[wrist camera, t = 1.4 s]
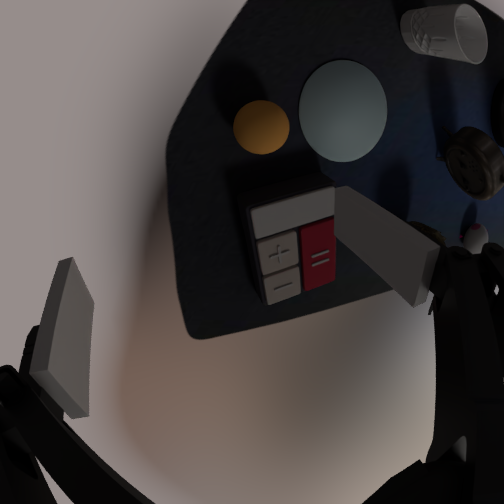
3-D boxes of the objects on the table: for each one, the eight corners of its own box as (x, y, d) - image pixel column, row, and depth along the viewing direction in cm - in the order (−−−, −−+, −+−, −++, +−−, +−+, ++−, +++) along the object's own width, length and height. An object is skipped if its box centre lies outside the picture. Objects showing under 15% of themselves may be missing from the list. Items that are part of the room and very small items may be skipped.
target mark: (375, 53, 31) (376, 53, 31) (391, 145, 38) (392, 145, 38) (285, 72, 30) (286, 72, 29) (312, 175, 37) (313, 176, 37)
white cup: (387, 12, 28) (446, 9, 20) (421, 1, 28) (476, 0, 20) (409, 64, 33) (466, 71, 25) (439, 48, 32) (493, 55, 24)
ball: (268, 92, 30) (290, 94, 26) (282, 138, 33) (304, 148, 29) (220, 108, 30) (234, 113, 25) (236, 155, 33) (252, 168, 28)
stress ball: (456, 240, 60) (481, 249, 57) (454, 257, 55) (481, 267, 51) (465, 210, 56) (491, 219, 52) (464, 224, 51) (493, 235, 47)
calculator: (265, 310, 41) (247, 209, 32) (254, 290, 44) (235, 193, 35) (339, 282, 43) (340, 183, 34) (324, 265, 46) (321, 170, 37)
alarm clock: (457, 170, 45) (530, 209, 32) (440, 186, 45) (514, 230, 32) (445, 116, 39) (531, 147, 26) (426, 131, 39) (515, 167, 26)
